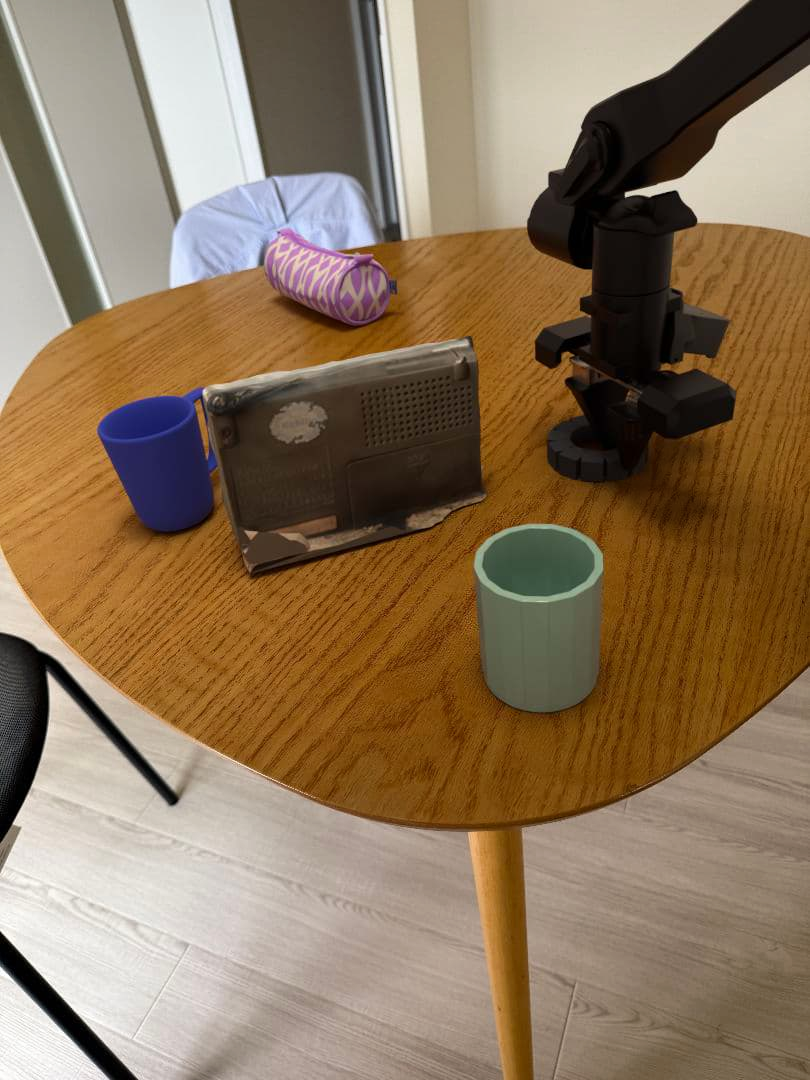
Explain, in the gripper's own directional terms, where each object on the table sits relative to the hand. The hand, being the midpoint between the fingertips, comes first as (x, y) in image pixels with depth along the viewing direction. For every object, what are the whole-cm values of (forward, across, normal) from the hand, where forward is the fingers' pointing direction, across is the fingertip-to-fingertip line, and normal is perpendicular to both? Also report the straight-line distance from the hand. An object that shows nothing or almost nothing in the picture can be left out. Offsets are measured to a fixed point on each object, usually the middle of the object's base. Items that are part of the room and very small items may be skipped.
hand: (620, 462), depth 68 cm
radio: (+1, +6, +22) cm, 23 cm away
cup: (+1, -17, +19) cm, 25 cm away
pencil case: (+1, +58, +7) cm, 59 cm away
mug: (+1, +18, +35) cm, 39 cm away
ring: (+1, +3, 0) cm, 4 cm away
